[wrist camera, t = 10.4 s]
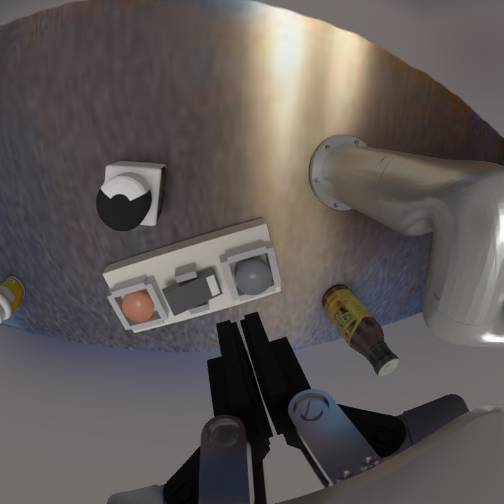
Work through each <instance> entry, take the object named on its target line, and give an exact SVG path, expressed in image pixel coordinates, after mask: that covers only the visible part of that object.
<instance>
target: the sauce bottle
mask: <svg viewBox="0 0 504 504" xmlns="http://www.w3.org/2000/svg"><path fill="white" fill-rule="evenodd" d="M323 305H324V308H325V311H326V312H327V314H328V315H329V317H330V318H331V320H332V321H333V323H334V324H335V325H336V327H337V329H338V330H339V331H340V333H341V334H342V336H343V337H344V339H345V340H346V342H347V343H348V345H349V346H350V347H352V348H353V349H355V350H356V351H358V352H359V353H361V354H362V355H364V356H365V357H366V358H367V359H368V360H369V361H370V363H371V364H372V366H373V367H374V371H375V372H376V374H377V375H378V376H380V377H384V376H386V375H388V374H390V373H391V372H392V371H393V370H394V369H395V368H396V367H397V365H398V364H399V359H398V357H397V356H396V355H395V354H394V353H392V352H391V350H390V349H389V348H388V347H387V345H386V343H385V342H384V334H383V330H382V328H381V326H380V325H379V324H378V323H377V322H376V320H375V318H374V317H373V316H372V315H371V314H370V313H369V311H368V310H367V309H366V308H365V307H364V306H363V304H362V303H361V302H360V301H359V300H358V299H357V298H356V296H355V295H354V294H353V293H352V292H351V291H350V290H348V288H346V287H345V286H341V285H340V286H335V287H333V288H331V289H330V290H329V291H328V292H327V293H326V295H325V297H324V299H323Z"/></svg>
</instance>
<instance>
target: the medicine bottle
mask: <svg viewBox="0 0 504 504" xmlns="http://www.w3.org/2000/svg"><path fill="white" fill-rule="evenodd" d="M166 170H167V165H166V164H158V163H146V162H132V161H120V162H117V163H113V164H110V165H107V166H106V171H105V183H104V184H103V185H102V187H101V188H100V190H99V192H98V195H97V199H96V207H97V211H98V214H99V216H100V218H101V220H102V221H103V222H104V223H105V224H106V225H107V226H108V227H110V228H112V229H114V230H118V231H128V230H131V229H134V228H135V227H137V226H138V225H149V226H155V225H156V223H157V221H158V218H159V216H160V214H161V211H162V204H163V195H164V186H165V178H166Z"/></svg>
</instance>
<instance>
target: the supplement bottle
mask: <svg viewBox="0 0 504 504" xmlns="http://www.w3.org/2000/svg"><path fill="white" fill-rule="evenodd" d="M24 297H25V289H24V286H23V284H22V283H21V281H20V280H19V279H17V278H16V277H13V276H10V277H8V278H7V279H6V280H5V281H4V282H3V283H2V284H1V285H0V323H1V322H2V321H3V319H8V318H9V317H10V316H11V315H12V313H13V312H14V311H15V309H16V308H17V307H18V305H19V304H20V303H21V302H22V300H23V299H24Z"/></svg>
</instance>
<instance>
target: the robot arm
mask: <svg viewBox="0 0 504 504" xmlns="http://www.w3.org/2000/svg"><path fill="white" fill-rule="evenodd" d="M354 142H355V143H354ZM325 146H326V148H325ZM309 177H310V183H311V186H312V189H313V191H314V193H315V195H316V196H317V198H318V199H319V200H320V201H321V202H322V203H323V204H325V205H326V206H328V207H330V208H332V209H335V210H340V211H346V210H351V209H355V210H357V211H359V212H361V213H363V214H365V215H366V216H368V217H370V218H372V219H374V220H376V221H378V222H380V223H381V224H383V225H385V226H387V227H389V228H391V229H393V230H394V231H396V232H398V233H400V234H403V235H406V236H420V235H424V234H427V233H429V232H431V231H433V244H432V254H431V260H430V266H429V271H428V277H427V281H426V286H425V292H424V297H423V303H422V313H423V318H424V321H425V323H426V325H427V327H428V328H429V329H430V330H431V331H432V333H434V334H435V335H436V336H438V337H439V338H441V339H443V340H445V341H447V342H450V343H453V344H458V345H464V346H477V347H504V167H503V166H501V165H498V164H495V163H490V162H483V161H468V160H451V159H441V158H434V157H428V156H422V155H417V154H411V153H406V152H400V151H394V150H387V149H380V148H373V147H368V146H367V145H366V144H365V143H364V142H363V141H361V140H360V139H358V138H356V137H354V136H350V135H337V136H333V137H331V138H328V139H327V140H325V141H324V142H323V143H322V144H321V145H320V146H319V147H318V148H317V149H316V151H315V152H314V155H313V157H312V159H311V163H310V170H309ZM315 178H316V180H315V181H314V179H315ZM334 203H335V204H334ZM240 322H241V326H242V329H243V333H244V336H245V340H246V343H247V347H248V350H249V354H250V357H251V360H252V364H253V367H254V371H255V374H256V377H257V381H258V384H259V387H260V391H261V394H262V396H263V400H264V402H265V405H266V407H267V410H268V412H269V415H270V417H271V420H272V422H273V425H274V427H275V429H276V432H277V434H278V435H280V434H284V437H285V440H286V442H287V444H288V445H290V446H293V447H295V448H298V449H299V451H300V452H301V454H302V455H303V457H304V459H305V460H306V462H307V464H308V465H309V467H310V468H311V470H312V471H313V473H314V475H315V476H316V478H317V479H318V481H319V482H320V484H321V485H322V487H323V488H324V489H322V490H319V491H316V492H313V493H310V494H307V495H304V496H301V497H298V498H294V499H291V500H287V501H283V502H280V503H276V504H504V407H501V406H498V405H489V406H483V407H480V408H477V409H474V410H472V411H469V410H468V408H467V406H466V403H465V401H464V400H463V399H462V397H460V396H458V395H456V394H449V395H445V396H443V397H441V398H438V399H436V400H434V401H431V402H429V403H426V404H423V405H421V406H418V407H416V408H413V409H410V410H407V411H404V412H403V414H401V415H398V416H392V415H385V414H381V413H376V412H371V411H366V410H361V409H357V408H352V407H348V406H344V405H340V404H337V403H336V402H335V401H334V400H333V398H332V397H331V396H330V395H329V394H328V393H326V392H325V391H322V390H318V389H311V387H310V385H309V383H308V381H307V379H306V377H305V375H304V373H303V371H302V369H301V367H300V364H299V363H298V360H297V358H296V356H295V354H294V352H293V350H292V348H291V345H290V343H289V341H288V339H287V338H286V337H283V338H280V339H277V340H274V341H271V342H269V340H268V338H267V335H266V333H265V330H264V327H263V325H262V322H261V320H260V317H259V314H258V312H254V313H251V314H248V315H245V319H244V320H241V321H240ZM216 325H217V332H218V338H219V344H220V350H221V355H222V356H221V357H217V358H213V359H210V360H208V361H207V364H208V373H209V381H210V388H211V396H212V403H213V410H214V418H212V419H210V420H209V421H208V422H207V423H206V424H205V426H204V427H203V429H202V433H201V445H200V447H199V448H198V449H197V450H196V451H195V452H194V453H193V455H192V456H191V457H190V458H189V459H188V460H187V461H186V463H184V464H183V466H182V467H181V468H180V469H179V470H178V471H177V472H176V473H175V474H174V475H173V476H172V477H171V479H169V480H168V481H167V483H166V484H164V485H161V486H158V485H153V486H150V487H145V488H141V489H136V490H131V491H126V492H121V493H116V494H113V495H112V496H111V497H110V498H109V499H108V502H107V504H270V503H269V493H268V484H267V475H266V464H265V456H266V455H267V453H268V452H269V451H270V447H269V445H270V442H269V438H270V437H273V434H272V430H271V427H270V424H269V421H268V417H267V414H266V411H265V408H264V405H263V401H262V398H261V395H260V391H259V388H258V385H257V382H256V378H255V375H254V372H253V368H252V365H251V362H250V360H249V357H248V354H247V351H246V349H245V346H244V343H243V340H242V337H241V335H240V332H239V329H238V326H237V323H236V322H234V323H231V322H230V320H228V321H224V322H221V323H217V324H216Z"/></svg>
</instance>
